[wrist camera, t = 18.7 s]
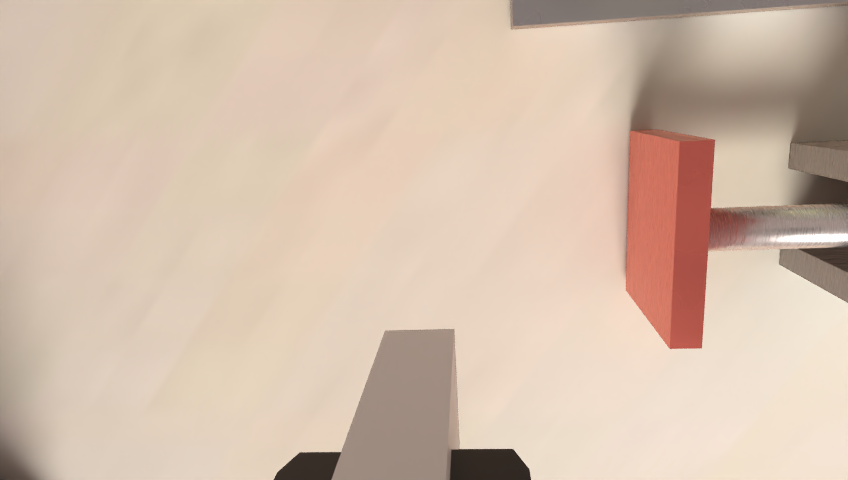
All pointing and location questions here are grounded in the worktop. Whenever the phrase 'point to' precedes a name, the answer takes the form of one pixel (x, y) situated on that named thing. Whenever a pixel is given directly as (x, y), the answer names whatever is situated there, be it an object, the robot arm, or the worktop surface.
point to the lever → (699, 230)
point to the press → (600, 3)
